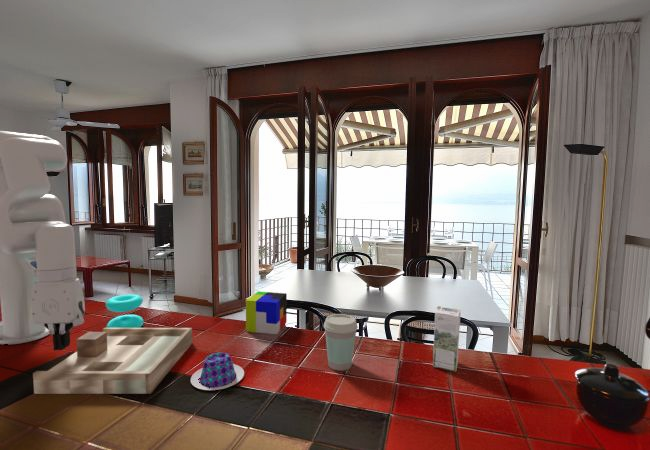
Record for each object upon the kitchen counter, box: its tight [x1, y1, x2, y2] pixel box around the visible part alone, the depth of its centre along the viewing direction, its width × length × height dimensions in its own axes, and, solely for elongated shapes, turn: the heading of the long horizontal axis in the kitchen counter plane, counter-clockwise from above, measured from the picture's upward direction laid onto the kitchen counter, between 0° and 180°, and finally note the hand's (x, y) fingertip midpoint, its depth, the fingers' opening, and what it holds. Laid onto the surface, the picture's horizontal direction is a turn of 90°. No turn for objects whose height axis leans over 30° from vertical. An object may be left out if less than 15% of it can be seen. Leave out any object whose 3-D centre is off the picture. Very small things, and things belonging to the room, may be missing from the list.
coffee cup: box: [323, 313, 359, 371], centre depth 87 cm, size 8×8×12 cm
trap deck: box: [32, 327, 193, 395], centre depth 86 cm, size 24×25×4 cm
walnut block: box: [76, 331, 107, 357], centre depth 86 cm, size 4×4×4 cm
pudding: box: [190, 351, 245, 391], centre depth 81 cm, size 12×12×5 cm
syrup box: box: [432, 305, 461, 372], centre depth 88 cm, size 6×6×14 cm
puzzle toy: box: [245, 291, 288, 335], centre depth 112 cm, size 10×10×10 cm
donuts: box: [105, 293, 144, 328], centre depth 109 cm, size 10×10×10 cm
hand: (62, 347), depth 86 cm, fingers closed
